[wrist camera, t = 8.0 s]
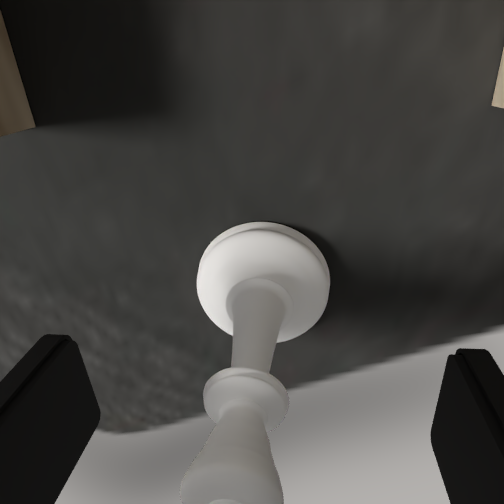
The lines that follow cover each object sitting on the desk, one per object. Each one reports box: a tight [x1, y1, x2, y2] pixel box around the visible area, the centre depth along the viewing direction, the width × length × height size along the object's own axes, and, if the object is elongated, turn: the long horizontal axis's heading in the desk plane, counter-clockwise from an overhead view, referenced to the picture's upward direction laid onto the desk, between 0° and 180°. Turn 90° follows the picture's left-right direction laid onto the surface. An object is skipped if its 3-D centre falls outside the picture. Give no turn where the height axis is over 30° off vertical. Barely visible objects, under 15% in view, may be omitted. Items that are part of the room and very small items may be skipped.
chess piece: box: [180, 222, 330, 504], centre depth 10 cm, size 5×5×10 cm
